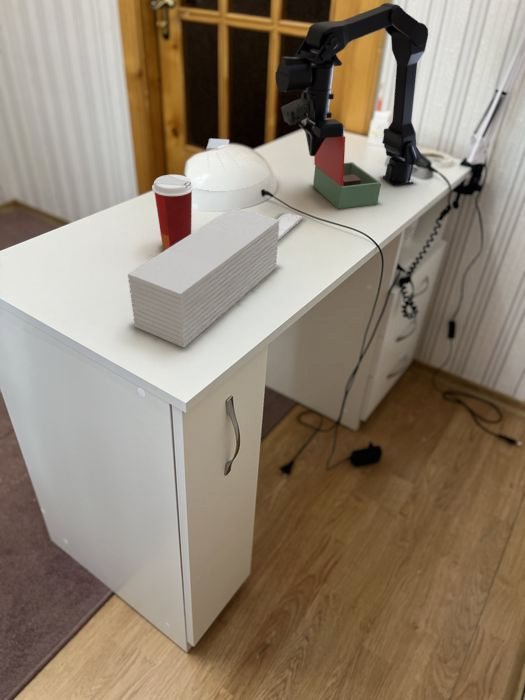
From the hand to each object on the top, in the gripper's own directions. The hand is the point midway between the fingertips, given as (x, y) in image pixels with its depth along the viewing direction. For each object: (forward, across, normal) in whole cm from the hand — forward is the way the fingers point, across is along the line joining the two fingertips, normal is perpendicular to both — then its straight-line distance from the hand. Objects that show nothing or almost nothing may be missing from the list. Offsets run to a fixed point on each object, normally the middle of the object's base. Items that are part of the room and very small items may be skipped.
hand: (312, 155), depth 132 cm
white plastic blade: (+11, +14, -14) cm, 23 cm away
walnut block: (+11, 0, +11) cm, 16 cm away
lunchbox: (+11, 0, +11) cm, 16 cm away
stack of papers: (+11, +36, -37) cm, 53 cm away
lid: (-1, 0, +5) cm, 5 cm away
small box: (+11, -17, -19) cm, 28 cm away
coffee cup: (+11, +16, -39) cm, 44 cm away
